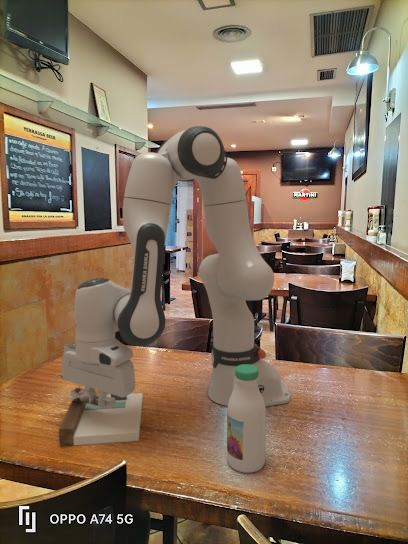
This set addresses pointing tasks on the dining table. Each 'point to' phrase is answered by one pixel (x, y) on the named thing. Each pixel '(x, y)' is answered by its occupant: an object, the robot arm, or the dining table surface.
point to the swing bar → (82, 396)
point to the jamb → (70, 423)
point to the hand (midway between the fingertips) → (97, 404)
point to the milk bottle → (246, 422)
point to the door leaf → (111, 421)
